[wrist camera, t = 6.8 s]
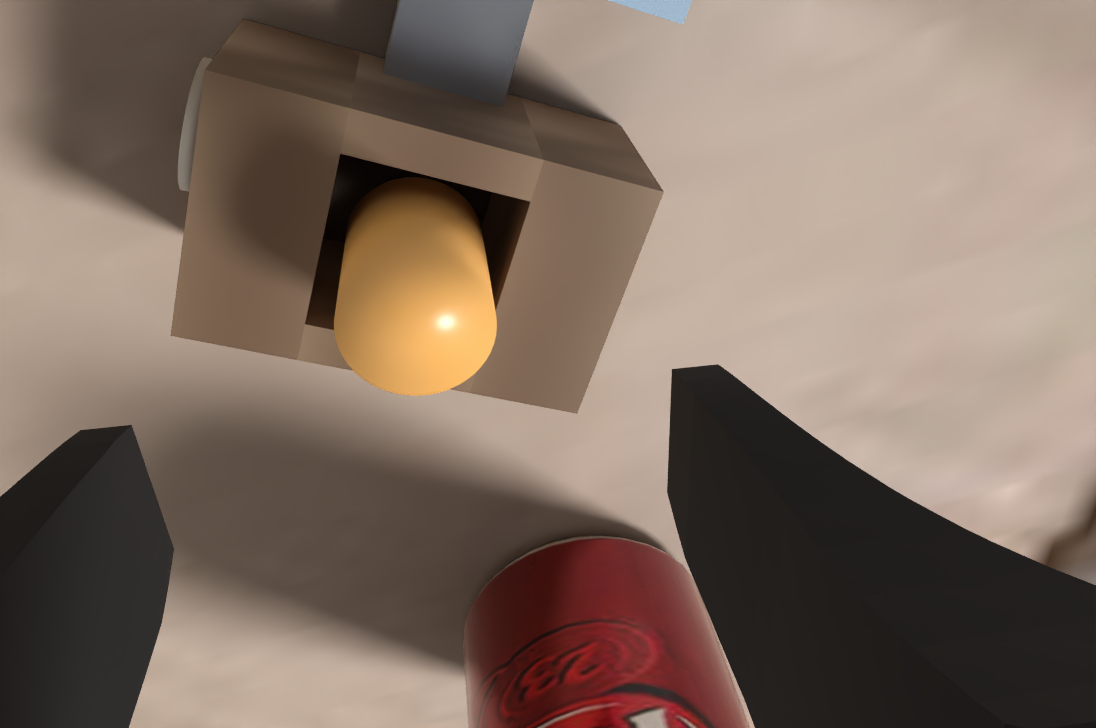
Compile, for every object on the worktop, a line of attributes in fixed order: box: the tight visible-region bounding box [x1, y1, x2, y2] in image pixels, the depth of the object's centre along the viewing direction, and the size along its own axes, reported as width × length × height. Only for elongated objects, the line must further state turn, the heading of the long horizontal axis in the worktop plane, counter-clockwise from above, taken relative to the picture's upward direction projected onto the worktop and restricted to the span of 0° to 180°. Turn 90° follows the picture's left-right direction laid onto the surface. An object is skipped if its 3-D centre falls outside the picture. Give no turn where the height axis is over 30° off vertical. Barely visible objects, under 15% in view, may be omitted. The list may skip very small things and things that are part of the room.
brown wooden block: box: [171, 19, 663, 413], centre depth 18 cm, size 8×5×4 cm, turn 72°
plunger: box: [334, 177, 497, 396], centre depth 16 cm, size 3×3×3 cm
